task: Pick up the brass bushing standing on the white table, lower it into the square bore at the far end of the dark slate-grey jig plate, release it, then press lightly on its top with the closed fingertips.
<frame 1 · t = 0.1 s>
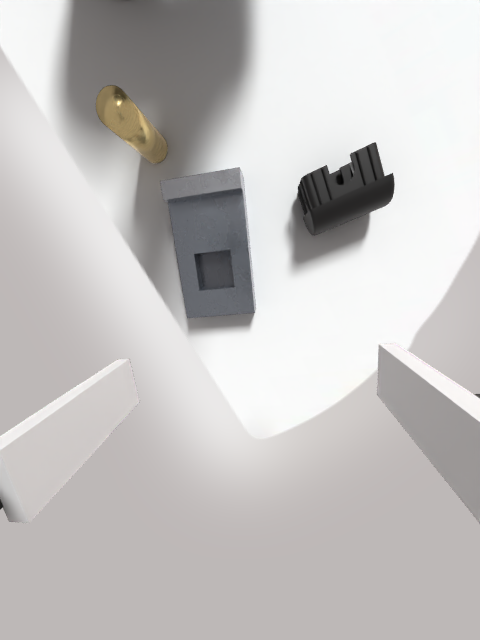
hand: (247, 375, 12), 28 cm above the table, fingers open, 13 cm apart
end cap: (333, 201, 35), on the table
jig: (216, 251, 38), on the table
bushing: (154, 148, 36), on the table
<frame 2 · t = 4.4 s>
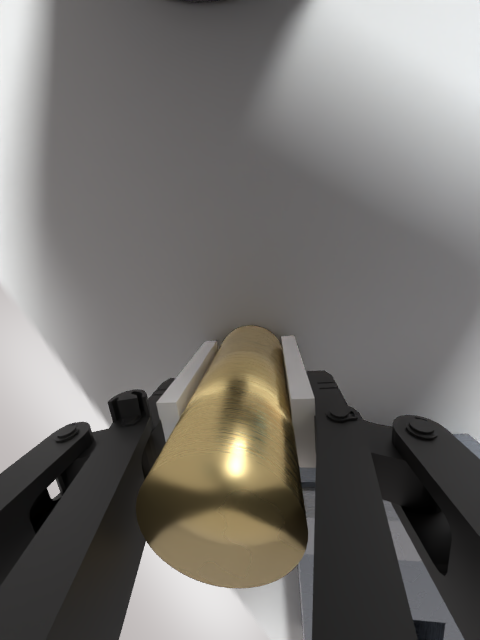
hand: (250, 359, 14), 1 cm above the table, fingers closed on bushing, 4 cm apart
jig: (370, 547, 18), on the table
bushing: (251, 355, 15), on the table, touching gripper
when the fingers open (5 cm above the table, at t = 9.6 s): bushing stays where it is, resting on jig.
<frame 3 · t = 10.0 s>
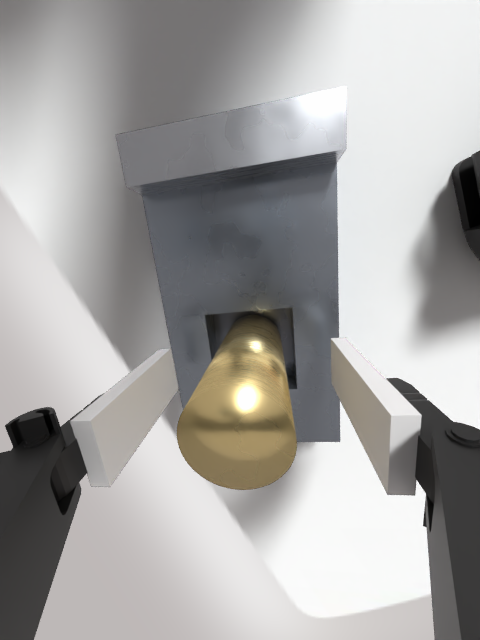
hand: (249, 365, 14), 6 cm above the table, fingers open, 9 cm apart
jig: (251, 299, 18), on the table
bushing: (253, 341, 17), point 2 cm above the table, touching jig
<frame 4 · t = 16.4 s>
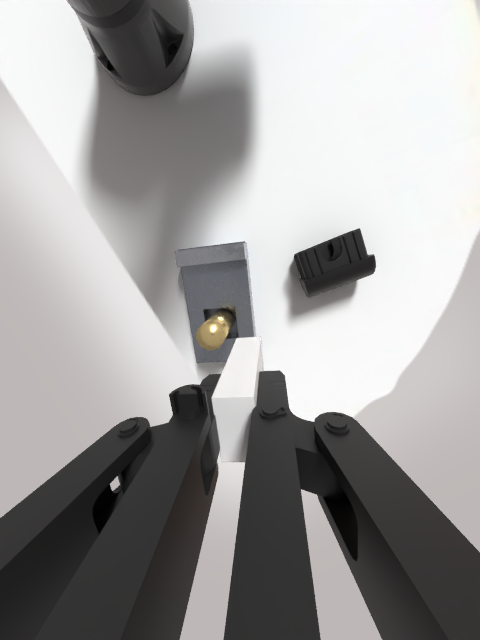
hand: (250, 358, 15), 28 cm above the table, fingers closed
end cap: (325, 264, 40), on the table
jig: (222, 303, 43), on the table
bushing: (223, 320, 42), point 2 cm above the table, touching jig
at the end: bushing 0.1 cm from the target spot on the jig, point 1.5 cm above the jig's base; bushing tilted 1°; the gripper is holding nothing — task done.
